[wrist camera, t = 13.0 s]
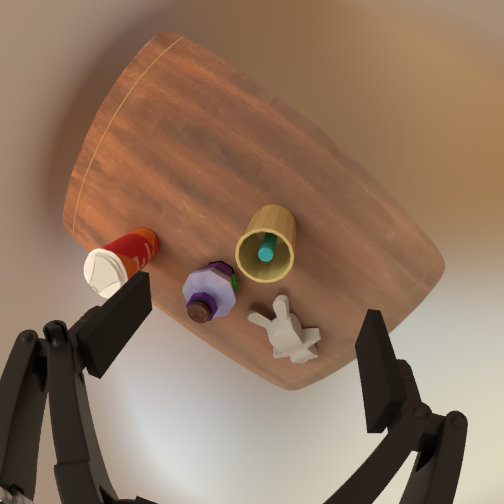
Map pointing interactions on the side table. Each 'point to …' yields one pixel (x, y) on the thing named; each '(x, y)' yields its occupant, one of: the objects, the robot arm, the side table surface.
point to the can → (250, 243)
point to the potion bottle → (210, 292)
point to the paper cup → (119, 261)
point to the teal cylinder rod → (267, 247)
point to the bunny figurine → (288, 333)
